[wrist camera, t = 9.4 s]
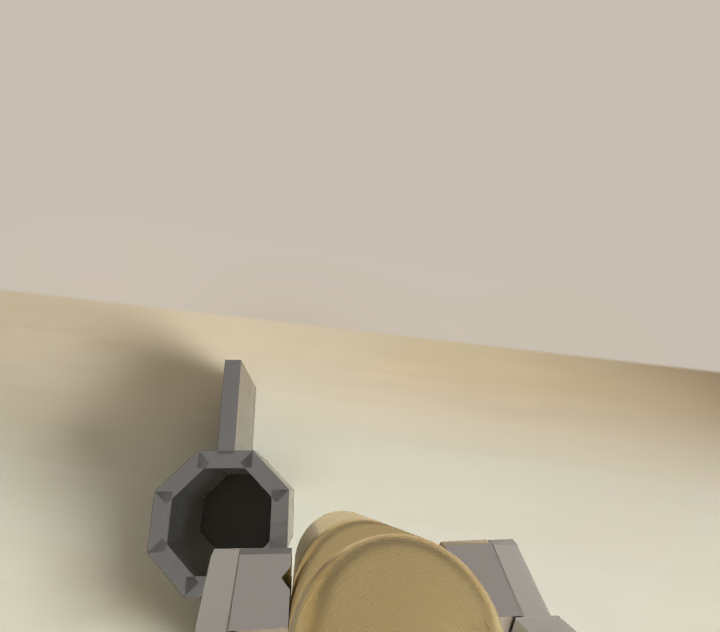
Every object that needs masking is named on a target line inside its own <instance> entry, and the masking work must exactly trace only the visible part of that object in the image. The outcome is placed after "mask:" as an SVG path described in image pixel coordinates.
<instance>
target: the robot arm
mask: <svg viewBox="0 0 720 632" xmlns="http://www.w3.org/2000/svg"><path fill="white" fill-rule="evenodd" d="M439 545H440V546H442V547H443V548H445V549H446V550H448V551H449V552H451V553H452V554H454V555H455V556H456V557H458V558H459V559H460V560H461V561H462V562H463V563H464V564H465V565H467V566H468V567H469V569H470V570H471V571H472V572H473V573H474V574H475V576H476V577H477V578H478V579H479V581H480V582H481V584H482V585H483V587H484V588H485V590H486V591H487V593H488V594H489V596H490V598H491V600H492V602H493V604H494V606H495V608H496V610H497V612H498V615H499V618H500V620H501V623H502V626H503V630H504V632H576V631H575V630H574V629H573V628H572V627H571V626H570V625H568V624H567V623H566V622H565V621H564V620H563V619H561V618H560V617H559V616H551V615H550V613H549V611H548V609H547V607H546V605H545V603H544V601H543V598H542V596H541V594H540V592H539V590H538V588H537V586H536V584H535V582H534V579H533V577H532V575H531V573H530V571H529V569H528V567H527V565H526V563H525V560H524V558H523V556H522V554H521V552H520V550H519V548H518V546H517V544H516V543H515V542H514V541H513V540H512V539H507V540H488V541H487V540H469V541H448V542H441V543H440V544H439ZM291 571H292V548H230V549H214V551H213V553H212V555H211V558H210V563H209V567H208V572H207V577H206V581H205V586H204V590H203V595H202V600H201V604H200V609H199V613H198V618H197V623H196V627H195V632H288V628H289V618H290V607H291V582H292V576H291Z"/></svg>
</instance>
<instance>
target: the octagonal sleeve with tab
mask: <svg viewBox="0 0 720 632" xmlns="http://www.w3.org/2000/svg"><path fill="white" fill-rule="evenodd" d="M255 397H256V387H255V385H254V384H253V382H252V380H251V378H250V376H249V374H248V372H247V370H246V368H245V366H244V364H243V363H242V361H241V360H225V367H224V379H223V391H222V403H221V414H220V426H219V438H218V449H217V451H198V452H197V453H196V454H195V455H194V456H192V457H191V458H190V459H189V460H188V461H187V462H186V463H185V464H184V465H183V466H182V467H181V468H179V469H178V470H177V471H176V472H175V473H174V474H173V475H172V476H171V477H170V478H169V479H168V480H166V481H165V482H164V483H163V484H162V485H161V486H160V487H159V488H158V489H157V490H156V491H155V492H154V500H153V508H152V516H151V524H150V532H149V540H148V548H147V554H148V555H149V556H150V557H151V558H152V560H153V561H154V562H155V563H156V564H157V566H158V567H159V568H160V569H161V570H162V572H163V573H164V574H165V575H166V576H167V578H168V579H169V580H170V581H171V582H172V584H173V585H174V586H175V587H176V589H177V590H178V591H179V592H180V593H181V595H182V596H183V597H184V598H193V597H202V595H203V590H204V586H205V581H206V577H207V572H208V567H209V563H210V558H211V555H212V553H213V551H214V549H215V548H214V547H213V546H212V545H211V543H210V542H209V541H208V540H207V539H206V538H205V537H204V535H203V534H202V533H201V524H202V513H203V502H204V497H205V496H206V495H207V494H208V493H209V492H210V491H211V490H213V489H214V488H215V487H216V486H217V485H218V484H219V483H220V482H221V481H222V480H223V479H224V478H225V477H226V476H227V475H228V474H251V475H252V476H253V477H254V479H255V480H256V481H257V482H258V483H259V484H260V485H261V486H262V487H263V488H264V489H265V491H266V492H267V493H268V494H269V495H270V496H271V497H272V501H271V523H270V541H269V542H268V543H267V544H266V545H265V546H264V547H263V548H288V546H289V544H290V541H291V539H292V537H293V514H294V490H293V489H292V488H291V486H290V485H289V484H288V483H287V482H286V481H285V480H284V479H283V478H282V477H281V476H280V475H279V474H278V472H277V471H276V470H275V469H274V468H273V467H272V466H271V465H270V464H269V463H268V462H267V461H266V460H265V459H264V458H263V457H261V456H260V455H259V454H257V453H256V452H255V451H253V450H252V446H253V429H254V413H255Z"/></svg>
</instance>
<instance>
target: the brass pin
mask: <svg viewBox="0 0 720 632" xmlns="http://www.w3.org/2000/svg"><path fill="white" fill-rule="evenodd" d="M288 632H504V630H503V626H502V623H501V620H500V618H499V615H498V612H497V610H496V608H495V606H494V604H493V602H492V600H491V598H490V596H489V594H488V593H487V591H486V590H485V588H484V587H483V585H482V584H481V582H480V581H479V579H478V578H477V577H476V576H475V574H474V573H473V572H472V571H471V570H470V569H469V567H468V566H467V565H465V564H464V563H463V562H462V561H461V560H460V559H459V558H458V557H456V556H455V555H454V554H452V553H451V552H449V551H448V550H446V549H445V548H443V547H442V546H440V545H438V544H436V543H434V542H432V541H430V540H427V539H424V538H422V537H419V536H416V535H414V534H411V533H408V532H405V531H403V530H400V529H397V528H394V527H392V526H389V525H386V524H383V523H381V522H378V521H375V520H372V519H370V518H367V517H364V516H362V515H359V514H356V513H353V512H348V511H338V512H332V513H329V514H326V515H324V516H322V517H320V518H318V519H317V520H316V521H314V522H313V523H312V524H311V525H310V526H309V527H308V528H307V530H306V531H305V532H304V534H303V536H302V537H301V539H300V542H299V544H298V547H297V550H296V555H295V565H294V575H293V586H292V596H291V607H290V618H289V628H288Z"/></svg>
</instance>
